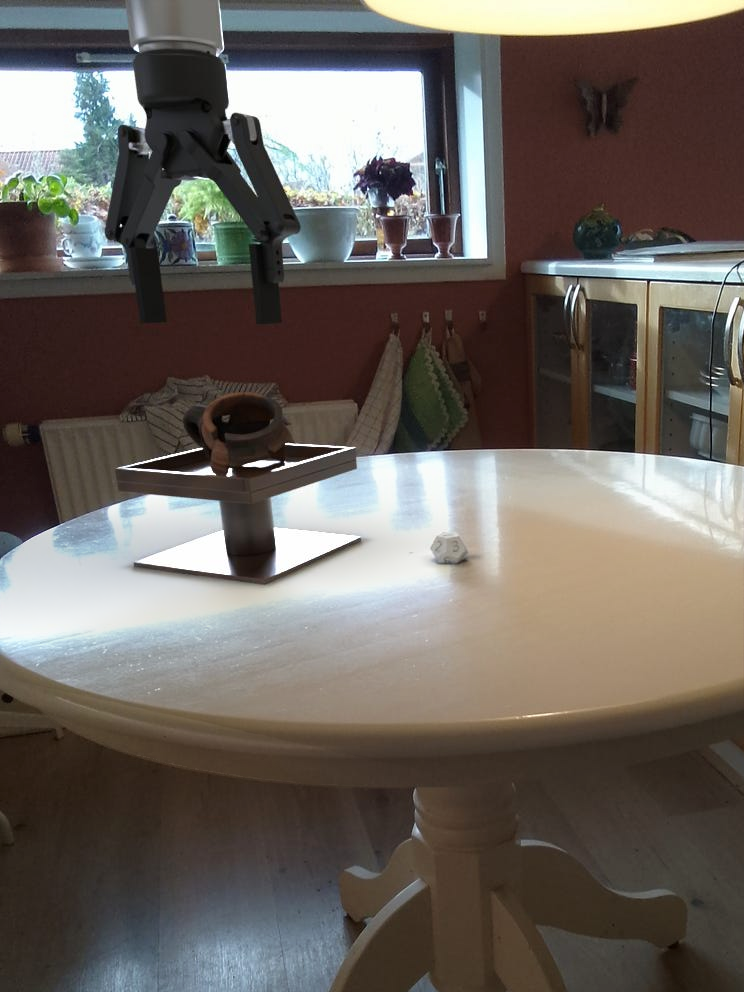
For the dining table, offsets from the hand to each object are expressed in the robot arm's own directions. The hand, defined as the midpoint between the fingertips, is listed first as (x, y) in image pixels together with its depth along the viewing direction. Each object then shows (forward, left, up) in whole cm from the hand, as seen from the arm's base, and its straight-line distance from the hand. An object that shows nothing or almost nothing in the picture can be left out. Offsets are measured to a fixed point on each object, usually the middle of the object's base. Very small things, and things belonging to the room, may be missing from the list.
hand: (209, 323), depth 85 cm
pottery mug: (+1, +1, -14) cm, 14 cm away
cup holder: (+1, +1, -23) cm, 23 cm away
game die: (+21, +6, -23) cm, 32 cm away
